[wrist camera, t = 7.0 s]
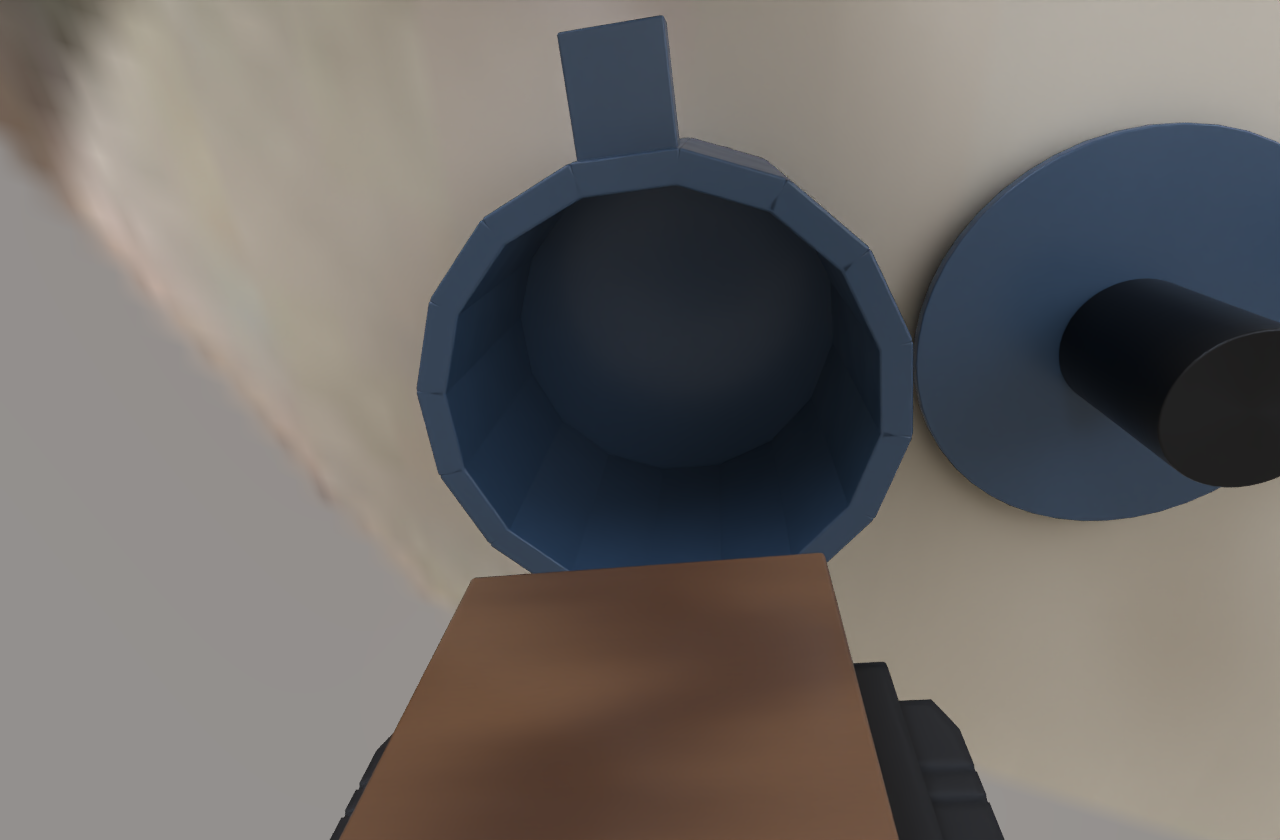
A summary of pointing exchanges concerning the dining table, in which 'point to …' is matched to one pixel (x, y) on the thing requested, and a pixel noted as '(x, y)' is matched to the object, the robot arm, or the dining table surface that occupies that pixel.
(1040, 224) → the lid
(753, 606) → the block
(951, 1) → the dining table surface
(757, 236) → the pot
